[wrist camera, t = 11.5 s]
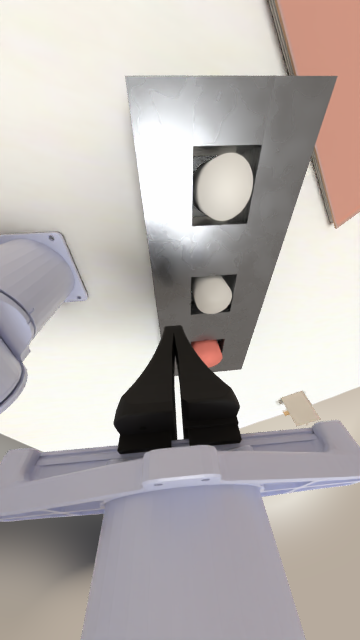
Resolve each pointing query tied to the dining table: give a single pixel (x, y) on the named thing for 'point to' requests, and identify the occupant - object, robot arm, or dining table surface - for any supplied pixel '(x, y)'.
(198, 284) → the plug
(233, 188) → the plug
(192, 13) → the dining table surface
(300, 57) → the notebook
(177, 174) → the block
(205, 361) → the red plug
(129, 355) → the dining table surface
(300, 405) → the architectural model
